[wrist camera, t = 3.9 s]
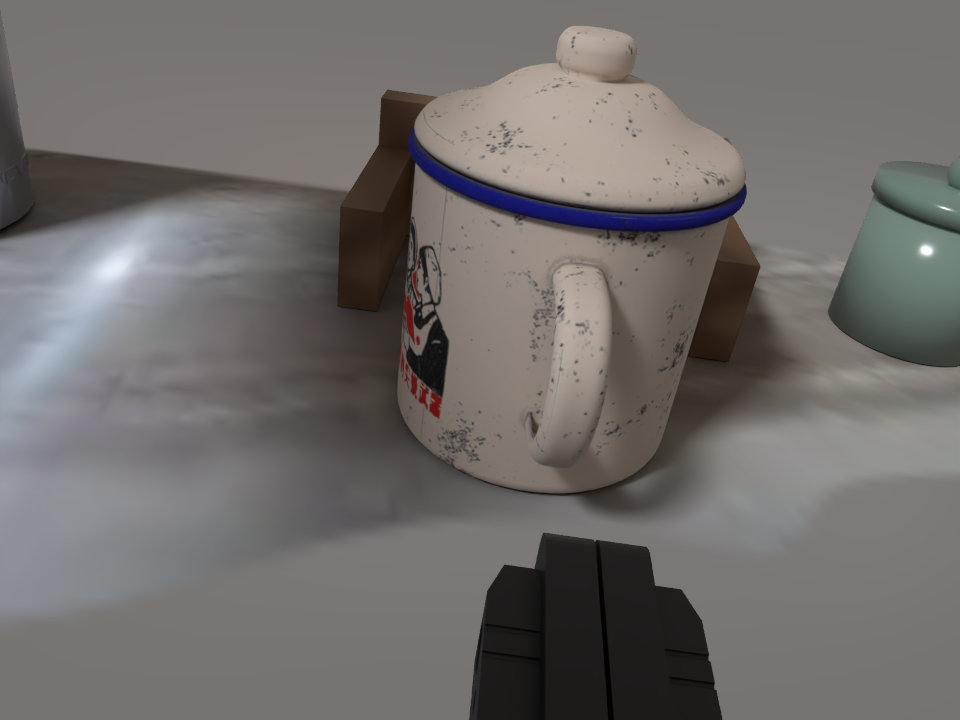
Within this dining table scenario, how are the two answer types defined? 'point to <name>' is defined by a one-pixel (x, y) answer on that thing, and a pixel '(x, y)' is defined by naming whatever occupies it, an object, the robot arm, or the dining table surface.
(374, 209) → the walnut cup holder
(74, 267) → the dining table surface
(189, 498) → the dining table surface
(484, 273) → the teacup with lid
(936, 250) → the green ceramic sugar pot
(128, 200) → the dining table surface
